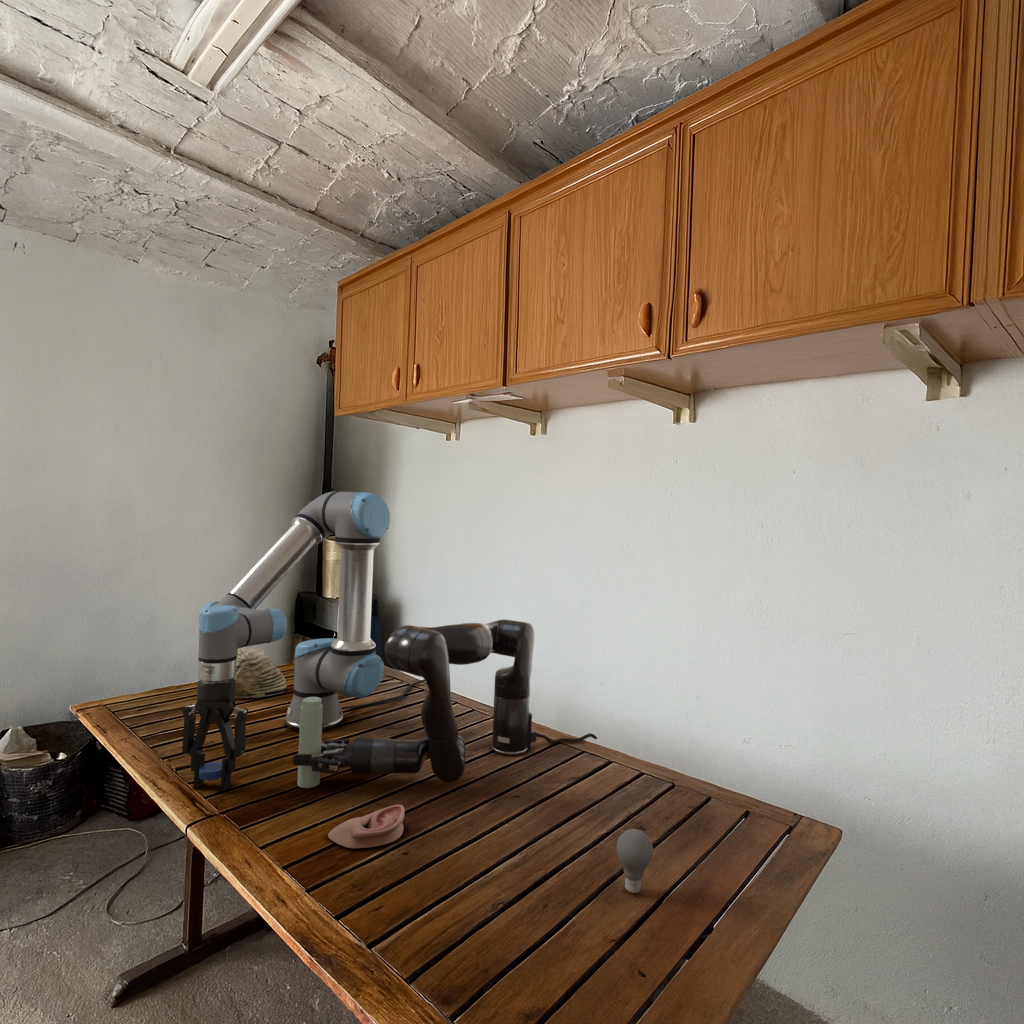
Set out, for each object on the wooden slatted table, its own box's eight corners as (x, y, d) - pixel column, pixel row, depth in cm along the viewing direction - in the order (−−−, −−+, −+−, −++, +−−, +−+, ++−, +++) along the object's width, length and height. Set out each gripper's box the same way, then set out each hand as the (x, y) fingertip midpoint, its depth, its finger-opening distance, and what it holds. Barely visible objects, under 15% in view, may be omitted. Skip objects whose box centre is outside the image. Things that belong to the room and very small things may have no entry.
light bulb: (610, 879, 108) (613, 822, 108) (644, 879, 109) (647, 822, 109) (619, 902, 102) (622, 840, 102) (655, 901, 103) (658, 840, 103)
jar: (306, 790, 136) (309, 704, 136) (292, 783, 139) (296, 699, 139) (324, 782, 140) (327, 699, 140) (310, 776, 143) (314, 694, 143)
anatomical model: (320, 822, 115) (348, 794, 127) (319, 843, 116) (348, 813, 127) (388, 833, 113) (411, 803, 124) (387, 855, 113) (410, 823, 124)
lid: (231, 774, 136) (231, 766, 136) (206, 783, 132) (206, 774, 132) (218, 767, 140) (218, 759, 139) (193, 775, 135) (193, 767, 135)
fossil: (218, 695, 195) (220, 647, 195) (278, 685, 208) (279, 640, 207) (228, 703, 189) (230, 653, 188) (289, 692, 201) (290, 645, 201)
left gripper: (164, 681, 132) (160, 791, 133) (250, 687, 131) (245, 798, 132) (185, 671, 140) (181, 776, 140) (266, 677, 139) (261, 782, 139)
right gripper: (380, 727, 148) (306, 726, 147) (370, 752, 133) (288, 750, 132) (379, 759, 148) (304, 758, 147) (369, 787, 134) (287, 786, 132)
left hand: (212, 786), depth 136 cm, fingers closed on lid, 5 cm apart
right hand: (297, 754), depth 139 cm, fingers closed on jar, 4 cm apart
